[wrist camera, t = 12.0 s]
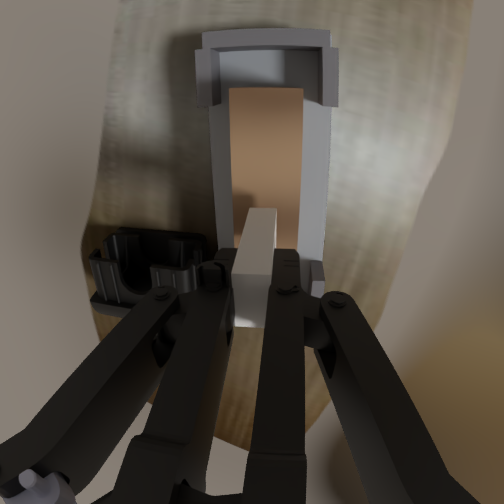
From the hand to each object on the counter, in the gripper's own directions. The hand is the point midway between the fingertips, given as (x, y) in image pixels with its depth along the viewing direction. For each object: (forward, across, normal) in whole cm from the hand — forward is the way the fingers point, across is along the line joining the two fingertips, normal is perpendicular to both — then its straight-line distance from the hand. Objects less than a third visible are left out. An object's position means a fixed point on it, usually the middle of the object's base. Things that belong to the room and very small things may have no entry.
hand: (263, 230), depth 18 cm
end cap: (+9, -10, -8) cm, 16 cm away
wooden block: (+7, 0, 0) cm, 7 cm away
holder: (+8, 0, 0) cm, 8 cm away
